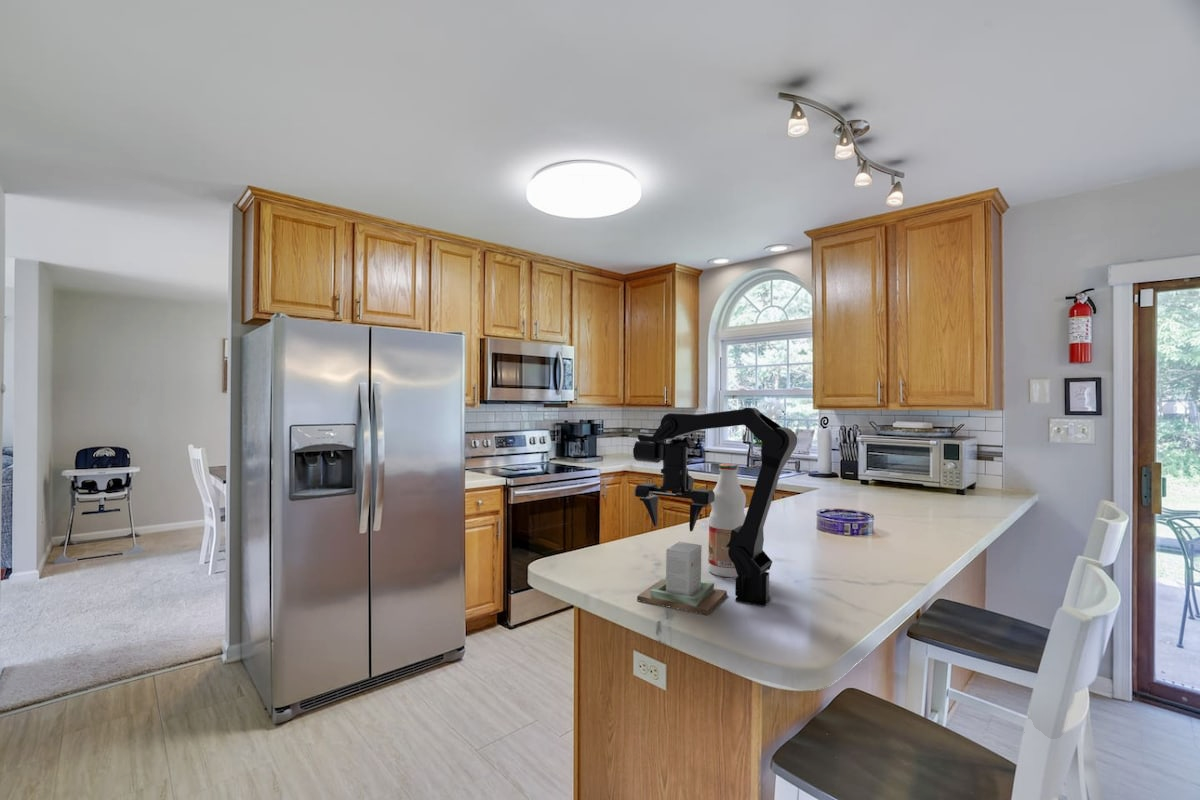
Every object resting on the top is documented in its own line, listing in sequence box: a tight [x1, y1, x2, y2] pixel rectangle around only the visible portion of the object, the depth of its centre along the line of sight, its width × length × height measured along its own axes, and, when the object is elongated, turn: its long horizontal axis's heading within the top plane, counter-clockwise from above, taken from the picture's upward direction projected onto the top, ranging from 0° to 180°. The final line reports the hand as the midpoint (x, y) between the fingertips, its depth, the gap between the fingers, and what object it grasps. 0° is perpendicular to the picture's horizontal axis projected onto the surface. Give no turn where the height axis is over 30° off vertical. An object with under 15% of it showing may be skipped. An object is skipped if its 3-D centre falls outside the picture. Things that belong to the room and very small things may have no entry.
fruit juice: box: [707, 463, 747, 578], centre depth 144 cm, size 9×9×28 cm
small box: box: [665, 541, 702, 597], centre depth 125 cm, size 8×6×10 cm
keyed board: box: [636, 578, 728, 616], centre depth 125 cm, size 16×14×2 cm
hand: (673, 528), depth 135 cm, fingers open, 9 cm apart
